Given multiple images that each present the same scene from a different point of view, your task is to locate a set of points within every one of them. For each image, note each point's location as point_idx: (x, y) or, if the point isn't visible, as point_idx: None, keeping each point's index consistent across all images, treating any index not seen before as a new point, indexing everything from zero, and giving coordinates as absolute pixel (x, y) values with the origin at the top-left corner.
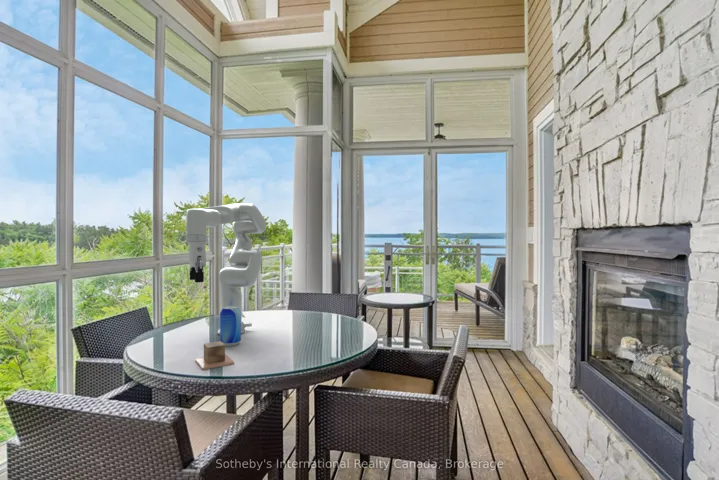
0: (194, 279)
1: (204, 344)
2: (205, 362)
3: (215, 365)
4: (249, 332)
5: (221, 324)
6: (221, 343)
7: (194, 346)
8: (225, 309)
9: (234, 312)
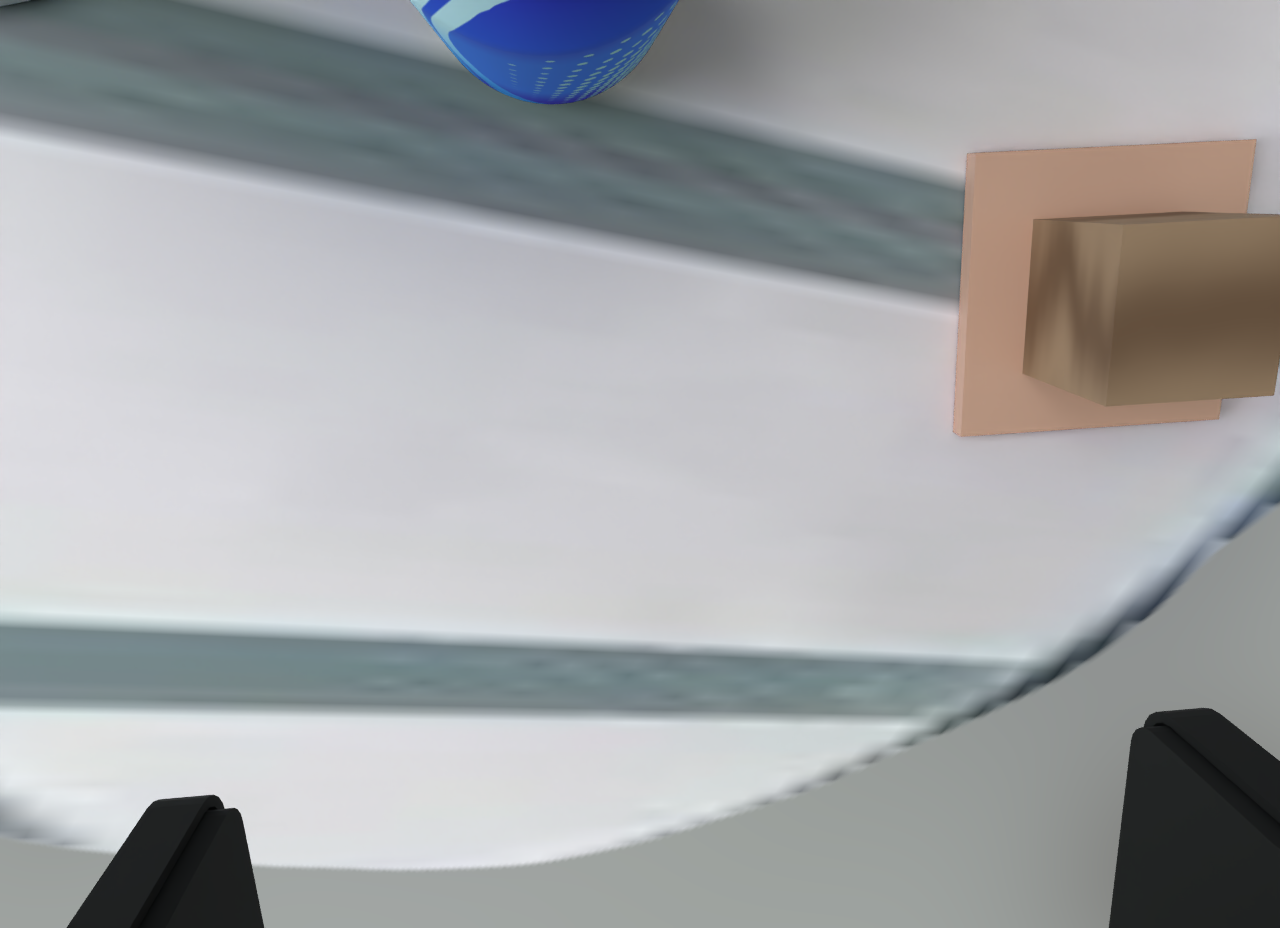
0: (259, 914)
1: (1131, 404)
2: None
3: None
4: None
5: (589, 72)
6: (1226, 237)
7: (455, 371)
8: None
9: None
